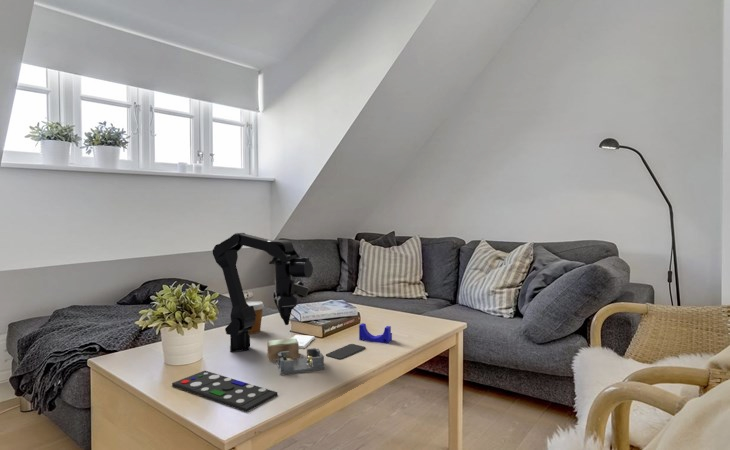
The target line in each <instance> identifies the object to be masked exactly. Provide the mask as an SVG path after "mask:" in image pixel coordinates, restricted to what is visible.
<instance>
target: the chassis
mask: <svg viewBox="0 0 730 450" xmlns="http://www.w3.org/2000/svg"><path fill="white" fill-rule="evenodd" d="M276 366H277V369H278V371H279V375H280V376H285V375H293V374H301V373H308V372H317V371H318V372H319V371H325V370H326V366H325V356H324V355H323V353H321V350H320V349H319V348H316V347H313V348H312V347H311V348H307V349H306V357H300V358H289V351H283V352H280V353H278V360H276Z"/></svg>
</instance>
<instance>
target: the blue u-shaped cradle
mask: <svg viewBox="0 0 730 450" xmlns="http://www.w3.org/2000/svg"><path fill="white" fill-rule="evenodd" d="M358 330H359V331H358V334H359V336H358V339H359V341H363V342H364V341H365V342H372V343H380V344H381V343H382V344H389V343H391V342H392V341H393V333H392V332H391V331H392V326H390V325H387V326H386V327H384V330H383V333H382V334H378V335H374V334H372V333H371V332H370V331H369V330H368V328H367V325H366V323H363V322H362V323H360V324H359V326H358Z"/></svg>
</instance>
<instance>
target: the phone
mask: <svg viewBox="0 0 730 450" xmlns="http://www.w3.org/2000/svg"><path fill="white" fill-rule="evenodd" d="M365 350H366V346H362V345H360V344H355V343H350V344H347V345H344V346H342V347H339V348H337V349H334V350H332V351H330V352H328V353H326V354H325V356H326V357H327V358H332V359H335V360H344V359H347V358H348V357H351V356H354V355H355V354H357V353H360V352H363V351H365Z"/></svg>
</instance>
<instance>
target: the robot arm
mask: <svg viewBox="0 0 730 450" xmlns="http://www.w3.org/2000/svg"><path fill="white" fill-rule="evenodd" d="M243 246H245V247H249V248H253V249H256V250H260V251H264V252H265V253H267V254H268V255H269V256H271V257H272V259H271V260H269V262H268V264H269V265H274V285H275V288H274V290H272V293H271V294H272V298H273V302H274V305H275V307H276V308H277V311H278V313H279V315H280V318H281V320H283V323H284V325H285V326H288V325H289V323H290V319H291V315H292V311H293V309H294V308H296V307H297V305H298V298H296V296H295V295H298V296H299V295H300V296H302V297H305V298H307V295H308V293H309V290H310V288H309V287H308V286H307V285H304V284H305V283H304V282H303V281H297V282H295V281H294V280H293V278H303V279H304V278H305V279H306V278H307V279H309V278H311V277H312V275H313V270H314V266H313V265H312V262H311V261H310V257H300V255H299V254H298V252H297V251H296V249H295V247H294V245H293V243H292V242H291V241H290V240H285V239H284V240H281V239H278V240H277V239H268V238H264V237H259V236H256V235H252V234H251V235H250V234H247V233H245V232H236V233H234V234H232V235H231V236H230V237H228V238H227V239H225V240H223V241H221V242H220V243H218V244H216V245H214V247H213V249H212V256H213V258H214V260H215V263H216V264H217V265H218V266H219V267H220V269H222V274H223V277H224V280H225V284H226V288H227V291H228V295H229V299H230V303H231V311H230V323H229V324H228V325H227V326H226V327H225V330H224V331H225V335H230V338H229V339H230V340H229V341H230V345H229V350H230V351H229V352H231V353H233V352H243V351H249V350H250V347H251V334H248V331H249V330H251V329H252V327H253V324H254V323H255V321H256V318H255V316H256V314H255V312H254V307H253V306H249V305H248V304H247V303H246V302H247V300H246V298H245V293H244V290H243V286H242V283H241V279H240V276H239V273H238V272H239V271H238V268H237V267H238V266H237V263H238V258H239V257H238V256H239V255H238V252H239V251H240V250H241V249H242V248H243Z"/></svg>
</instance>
